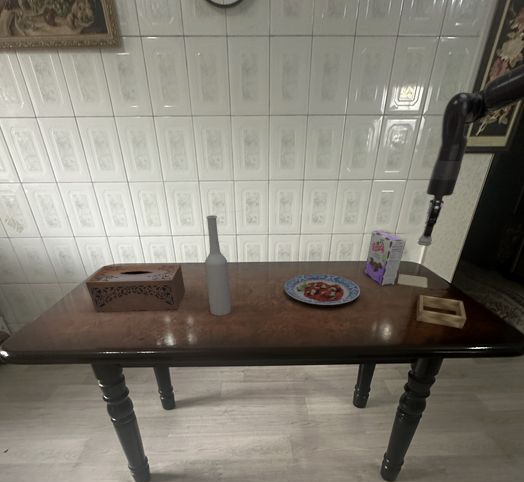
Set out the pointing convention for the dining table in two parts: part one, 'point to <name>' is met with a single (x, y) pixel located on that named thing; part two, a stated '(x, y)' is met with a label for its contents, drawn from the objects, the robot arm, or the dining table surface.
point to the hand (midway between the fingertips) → (426, 234)
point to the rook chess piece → (425, 238)
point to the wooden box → (441, 318)
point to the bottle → (217, 273)
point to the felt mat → (412, 280)
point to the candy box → (384, 257)
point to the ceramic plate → (322, 289)
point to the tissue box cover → (137, 287)
